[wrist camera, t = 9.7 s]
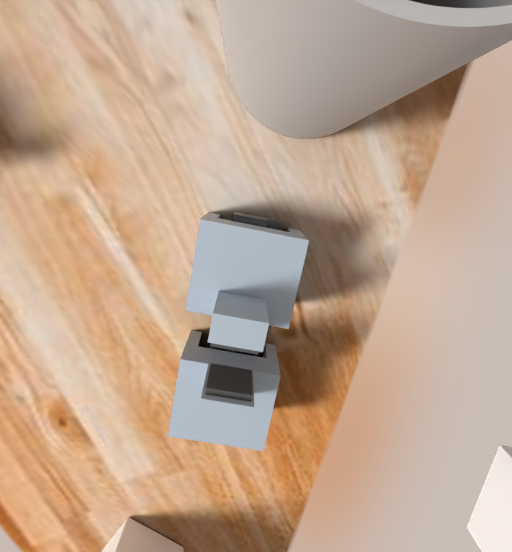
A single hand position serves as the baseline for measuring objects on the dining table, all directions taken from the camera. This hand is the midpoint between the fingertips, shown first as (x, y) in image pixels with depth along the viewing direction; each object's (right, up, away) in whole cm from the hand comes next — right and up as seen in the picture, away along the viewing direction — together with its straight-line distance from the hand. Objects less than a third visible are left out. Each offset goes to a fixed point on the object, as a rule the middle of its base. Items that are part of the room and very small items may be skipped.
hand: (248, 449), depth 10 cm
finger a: (-3, -4, +27) cm, 28 cm away
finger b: (-1, +6, +25) cm, 25 cm away
